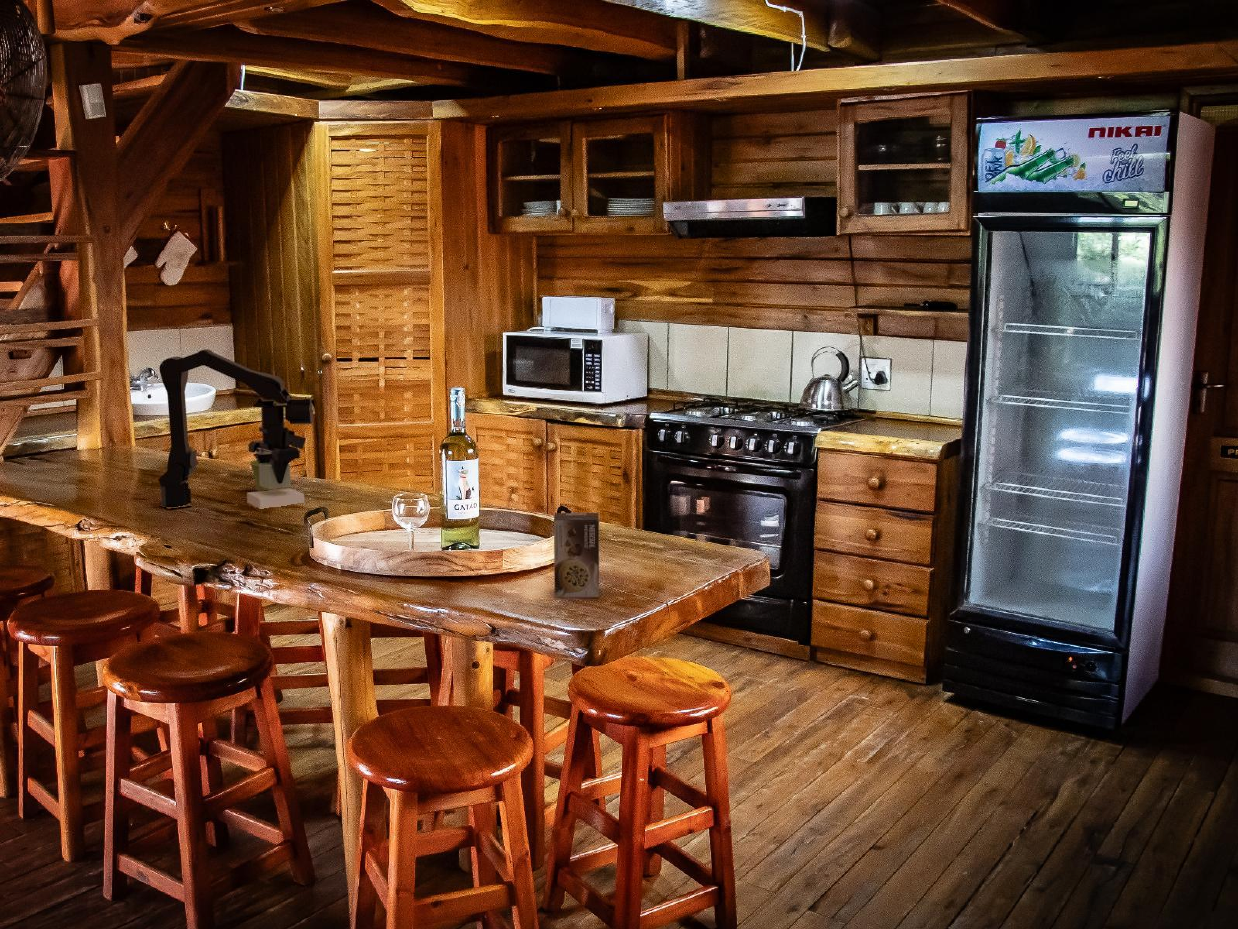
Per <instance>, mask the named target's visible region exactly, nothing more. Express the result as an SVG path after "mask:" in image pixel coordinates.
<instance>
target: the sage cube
mask: <svg viewBox="0 0 1238 929" xmlns="http://www.w3.org/2000/svg"><path fill="white" fill-rule="evenodd" d="M259 485H260V486H262V487H265V488H268V489H275V488H279V489H284V488H291V464H290V463H289V464H288V466H287V469H286V472H285V475H284V479H283V482H282V483H281V484H278V482H277V480H276V477H275V474H274V471H273V468H272V465H271V462H269V463H260V464H259Z"/></svg>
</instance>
